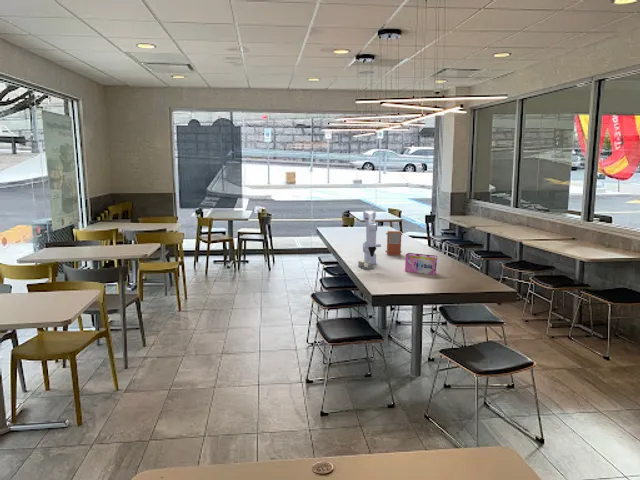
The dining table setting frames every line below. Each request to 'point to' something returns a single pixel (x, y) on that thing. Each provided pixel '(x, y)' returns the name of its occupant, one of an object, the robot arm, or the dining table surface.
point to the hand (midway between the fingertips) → (371, 256)
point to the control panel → (394, 242)
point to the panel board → (361, 265)
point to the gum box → (420, 263)
